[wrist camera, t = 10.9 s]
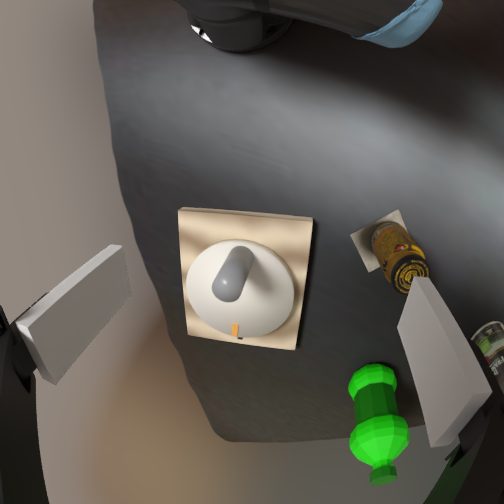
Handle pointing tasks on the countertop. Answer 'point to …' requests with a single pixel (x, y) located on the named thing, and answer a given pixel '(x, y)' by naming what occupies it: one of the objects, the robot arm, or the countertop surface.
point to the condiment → (391, 251)
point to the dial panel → (258, 230)
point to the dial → (240, 288)
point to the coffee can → (492, 347)
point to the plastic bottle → (377, 421)
